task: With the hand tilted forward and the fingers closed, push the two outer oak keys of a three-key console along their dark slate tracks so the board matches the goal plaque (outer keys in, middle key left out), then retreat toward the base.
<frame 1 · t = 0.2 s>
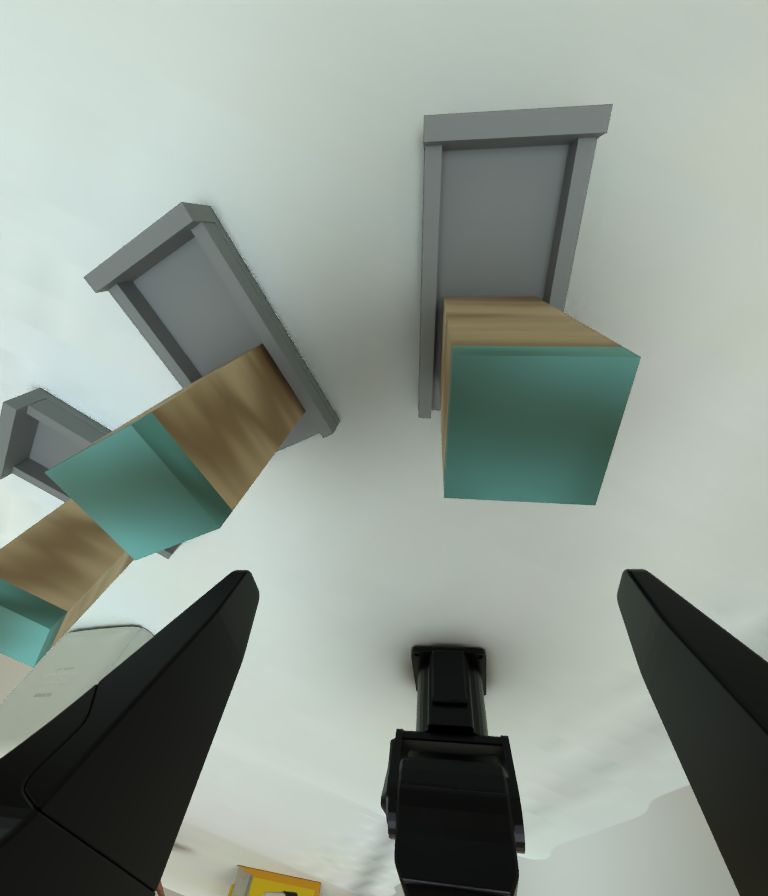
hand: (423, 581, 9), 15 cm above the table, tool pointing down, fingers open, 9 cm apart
oak key C: (85, 549, 24), point 6 cm above the table, slide at 0.0 cm
slate track C: (148, 492, 29), on the table
photo printer: (115, 636, 39), on the table
packaging box: (279, 884, 76), on the table
oak key B: (211, 431, 18), point 6 cm above the table, slide at 0.0 cm
slate track A: (483, 339, 21), on the table
oak key A: (500, 374, 15), point 6 cm above the table, slide at 0.0 cm
slate track B: (261, 388, 24), on the table
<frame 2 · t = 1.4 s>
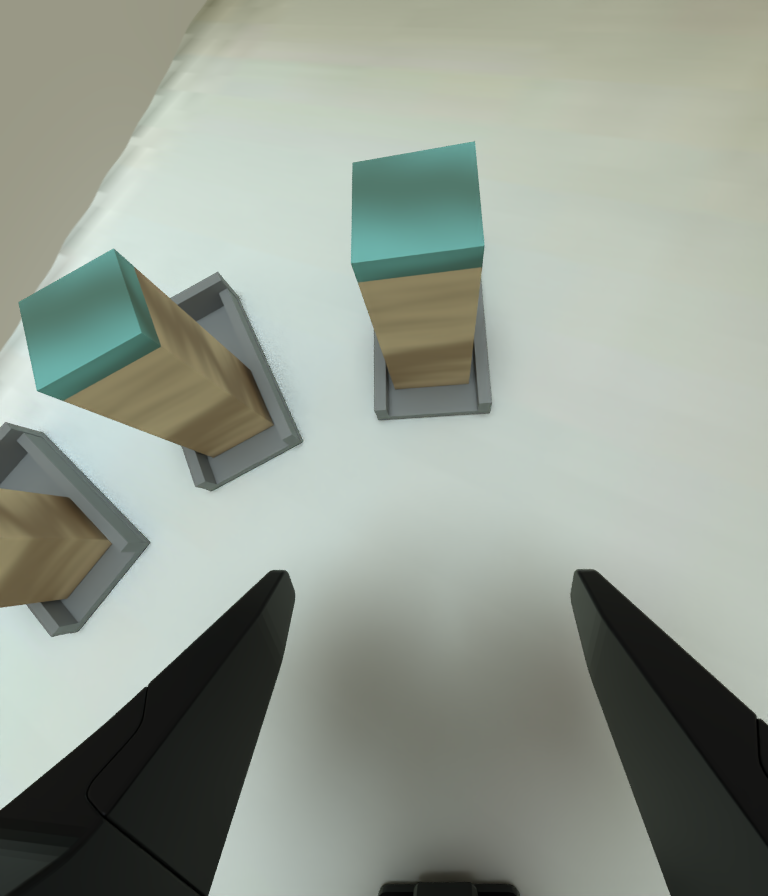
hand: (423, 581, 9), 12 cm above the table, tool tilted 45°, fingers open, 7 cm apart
slate track C: (79, 546, 25), on the table
oak key B: (175, 377, 20), point 6 cm above the table, slide at 0.0 cm
slate track A: (430, 357, 24), on the table
oak key A: (424, 298, 19), point 6 cm above the table, slide at 0.0 cm
slate track B: (236, 415, 26), on the table
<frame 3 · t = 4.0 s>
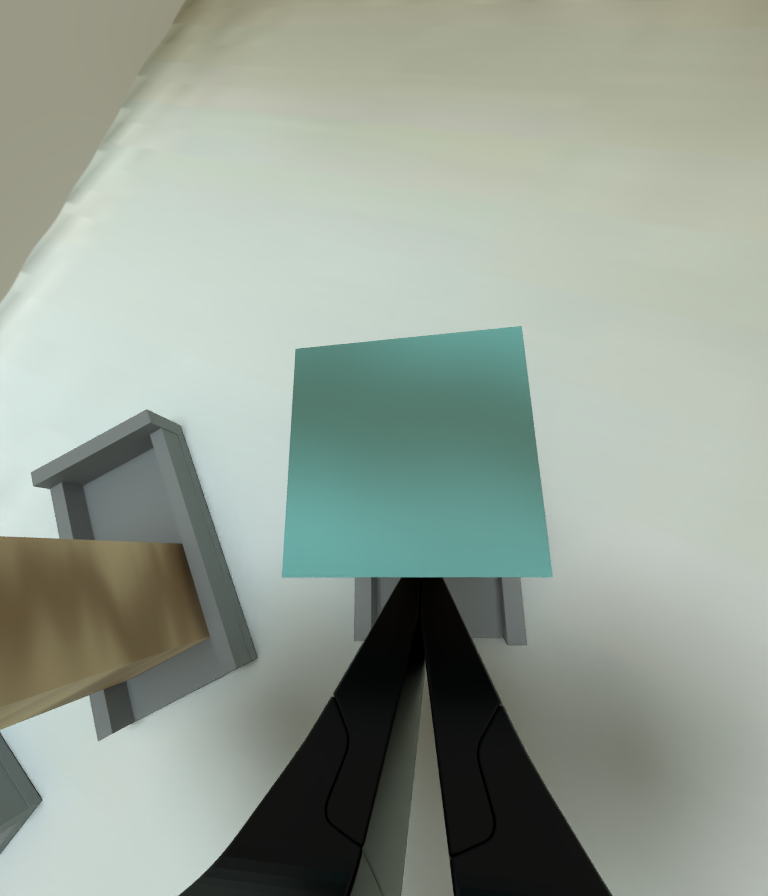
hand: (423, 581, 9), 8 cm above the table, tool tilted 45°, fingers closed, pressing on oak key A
oak key B: (46, 630, 13), point 6 cm above the table, slide at 0.0 cm
slate track A: (434, 539, 18), on the table
oak key A: (425, 493, 12), point 6 cm above the table, slide at 1.2 cm, touching gripper
slate track B: (170, 607, 19), on the table
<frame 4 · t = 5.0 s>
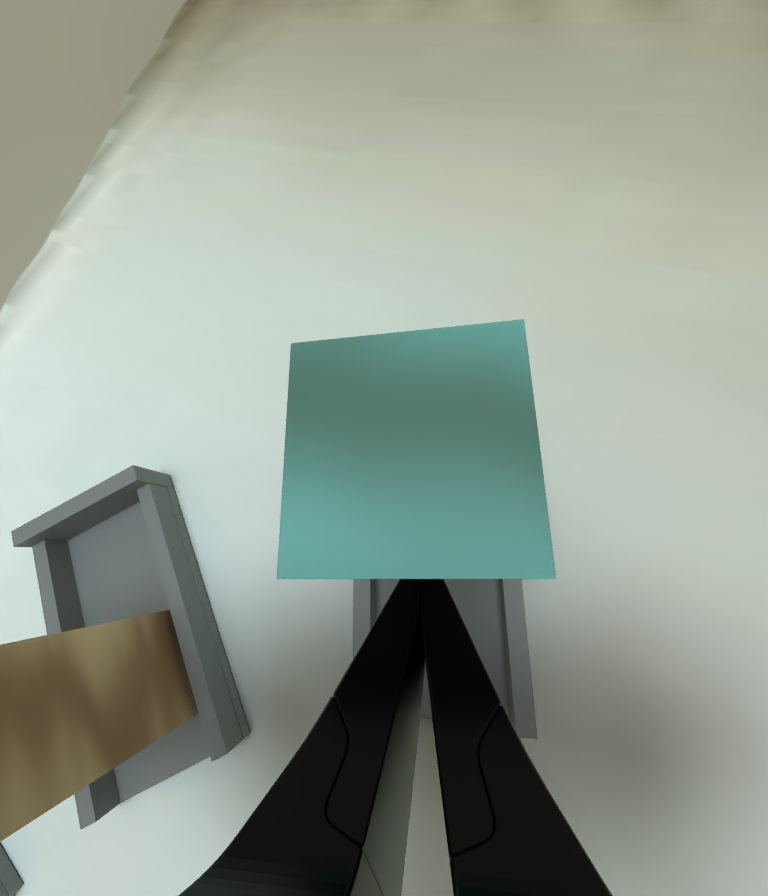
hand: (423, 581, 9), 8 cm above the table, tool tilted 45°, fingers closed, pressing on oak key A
oak key B: (19, 733, 12), point 6 cm above the table, slide at 0.0 cm
slate track A: (437, 608, 17), on the table
oak key A: (424, 491, 12), point 6 cm above the table, slide at 4.2 cm, touching gripper
slate track B: (158, 674, 18), on the table
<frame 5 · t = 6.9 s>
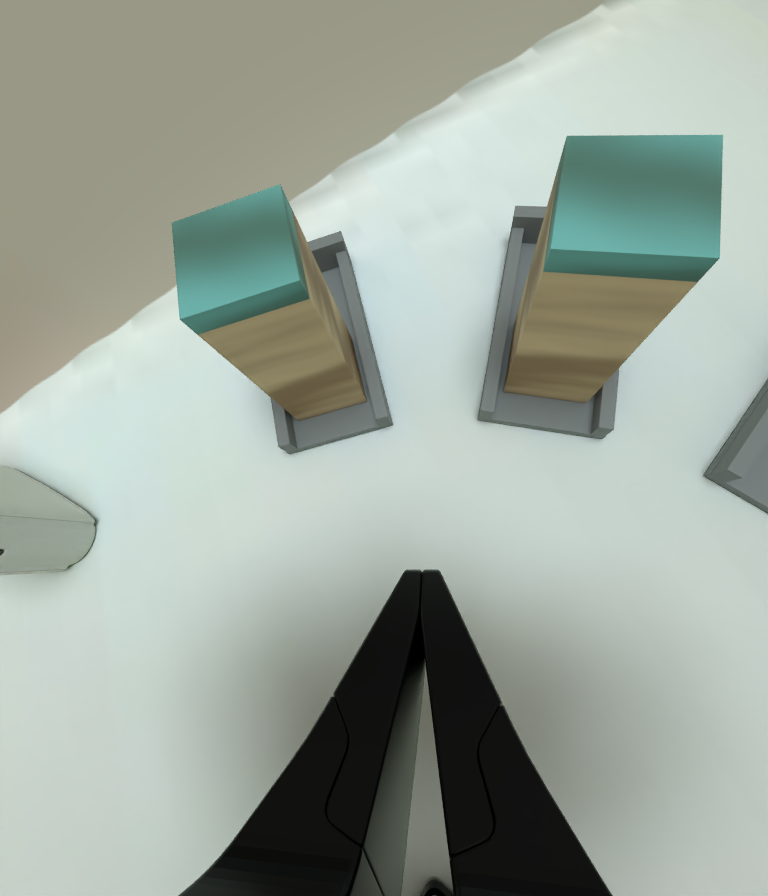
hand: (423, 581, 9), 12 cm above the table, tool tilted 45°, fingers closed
oak key C: (291, 332, 19), point 6 cm above the table, slide at 0.0 cm
slate track C: (328, 383, 25), on the table
photo printer: (43, 516, 26), on the table
oak key B: (579, 303, 17), point 6 cm above the table, slide at 0.0 cm
slate track B: (546, 366, 23), on the table
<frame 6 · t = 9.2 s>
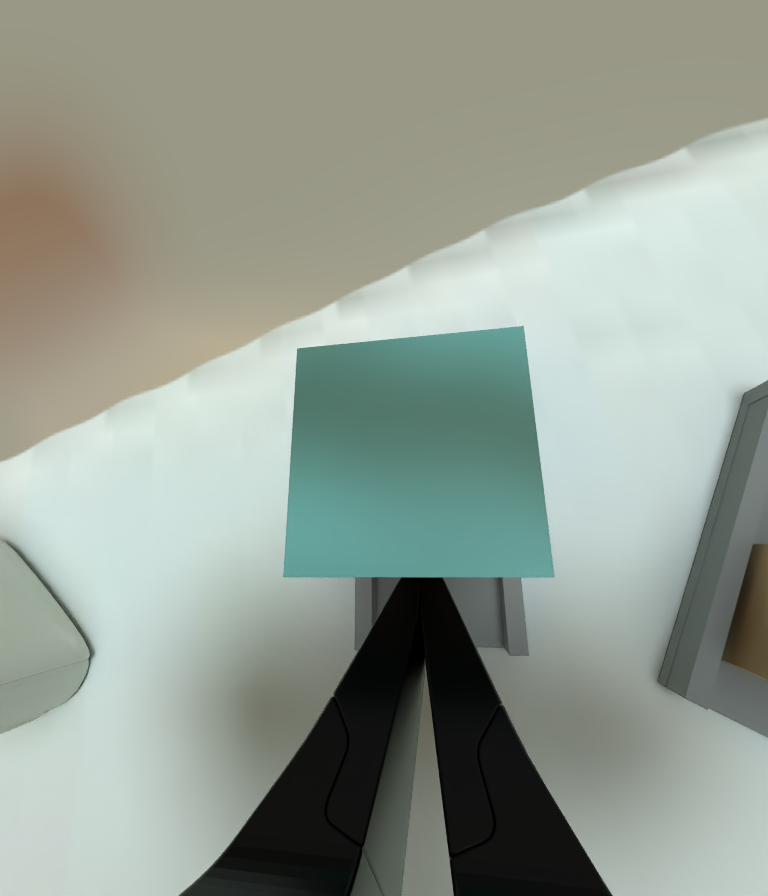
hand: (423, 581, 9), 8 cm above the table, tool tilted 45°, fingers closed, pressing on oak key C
oak key C: (426, 493, 12), point 6 cm above the table, slide at 1.6 cm, touching gripper
slate track C: (435, 547, 17), on the table
photo printer: (31, 619, 20), on the table
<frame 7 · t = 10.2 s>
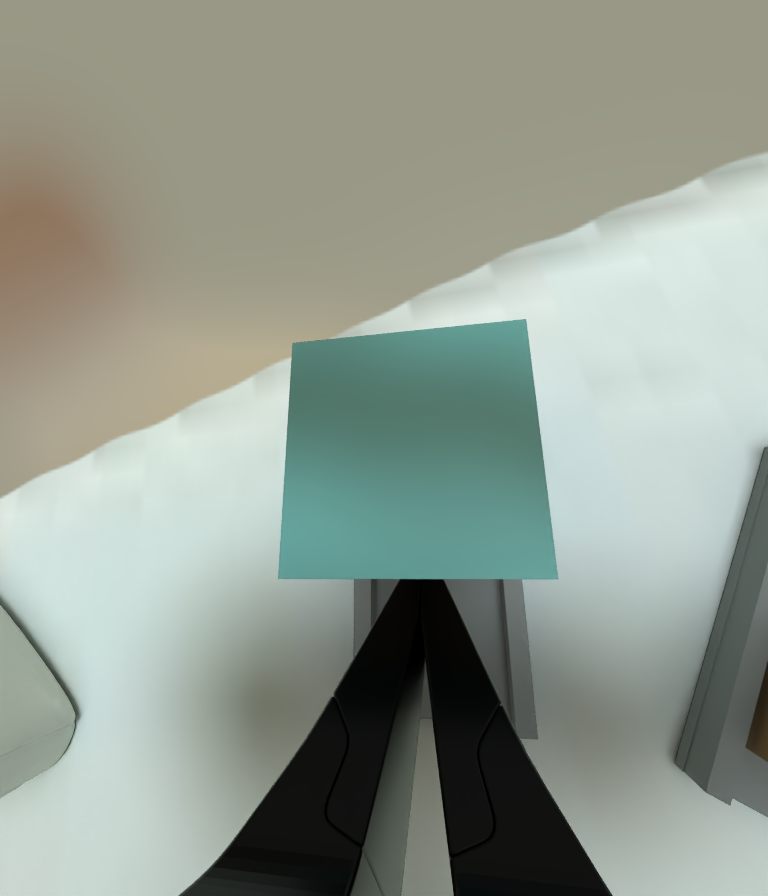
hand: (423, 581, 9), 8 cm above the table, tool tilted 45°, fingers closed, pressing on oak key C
oak key C: (425, 491, 12), point 6 cm above the table, slide at 4.2 cm, touching gripper
slate track C: (438, 608, 17), on the table
photo printer: (15, 675, 19), on the table
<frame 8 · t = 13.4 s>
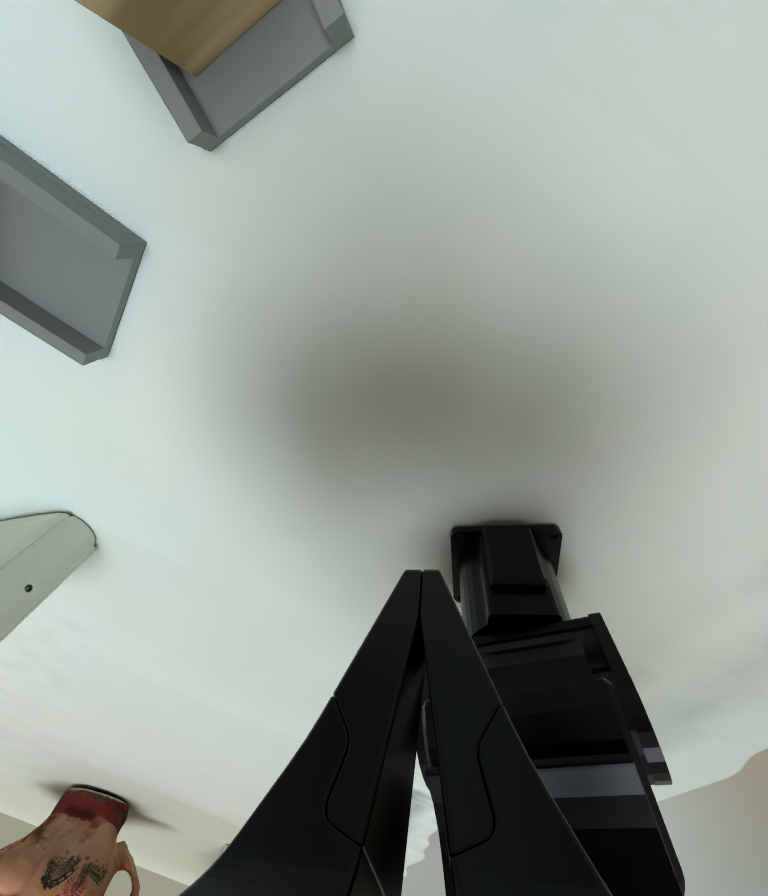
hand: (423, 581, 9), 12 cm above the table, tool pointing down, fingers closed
decorative planter: (112, 799, 59), on the table
slate track C: (45, 249, 18), on the table
photo printer: (41, 533, 29), on the table
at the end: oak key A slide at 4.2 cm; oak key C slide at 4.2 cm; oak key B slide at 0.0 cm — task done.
